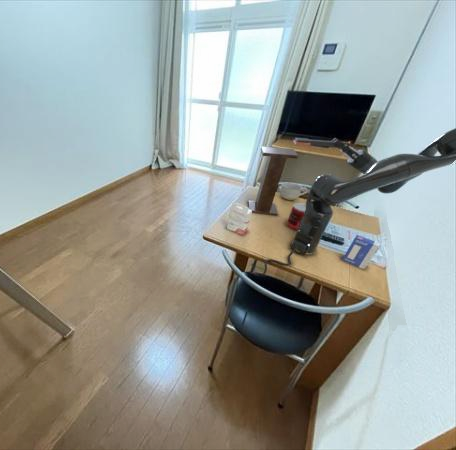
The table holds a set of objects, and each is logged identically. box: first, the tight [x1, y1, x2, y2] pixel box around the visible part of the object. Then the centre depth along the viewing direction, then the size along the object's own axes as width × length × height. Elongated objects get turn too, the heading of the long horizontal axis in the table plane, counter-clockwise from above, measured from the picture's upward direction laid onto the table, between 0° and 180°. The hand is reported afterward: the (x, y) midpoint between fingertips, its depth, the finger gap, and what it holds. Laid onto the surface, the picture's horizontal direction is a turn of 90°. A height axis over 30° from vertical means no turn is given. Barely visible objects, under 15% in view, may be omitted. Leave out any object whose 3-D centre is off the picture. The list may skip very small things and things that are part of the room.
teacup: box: [279, 181, 308, 201], centre depth 144 cm, size 14×11×8 cm
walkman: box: [341, 234, 382, 270], centre depth 97 cm, size 8×3×12 cm, turn 45°
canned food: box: [286, 202, 306, 231], centre depth 119 cm, size 8×8×11 cm
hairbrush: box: [292, 137, 351, 148], centre depth 112 cm, size 22×5×2 cm, turn 76°
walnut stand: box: [247, 146, 299, 217], centre depth 127 cm, size 15×12×32 cm
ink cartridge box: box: [226, 201, 252, 236], centre depth 115 cm, size 9×5×15 cm, turn 47°
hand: (334, 140), depth 110 cm, fingers closed on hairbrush, 2 cm apart
